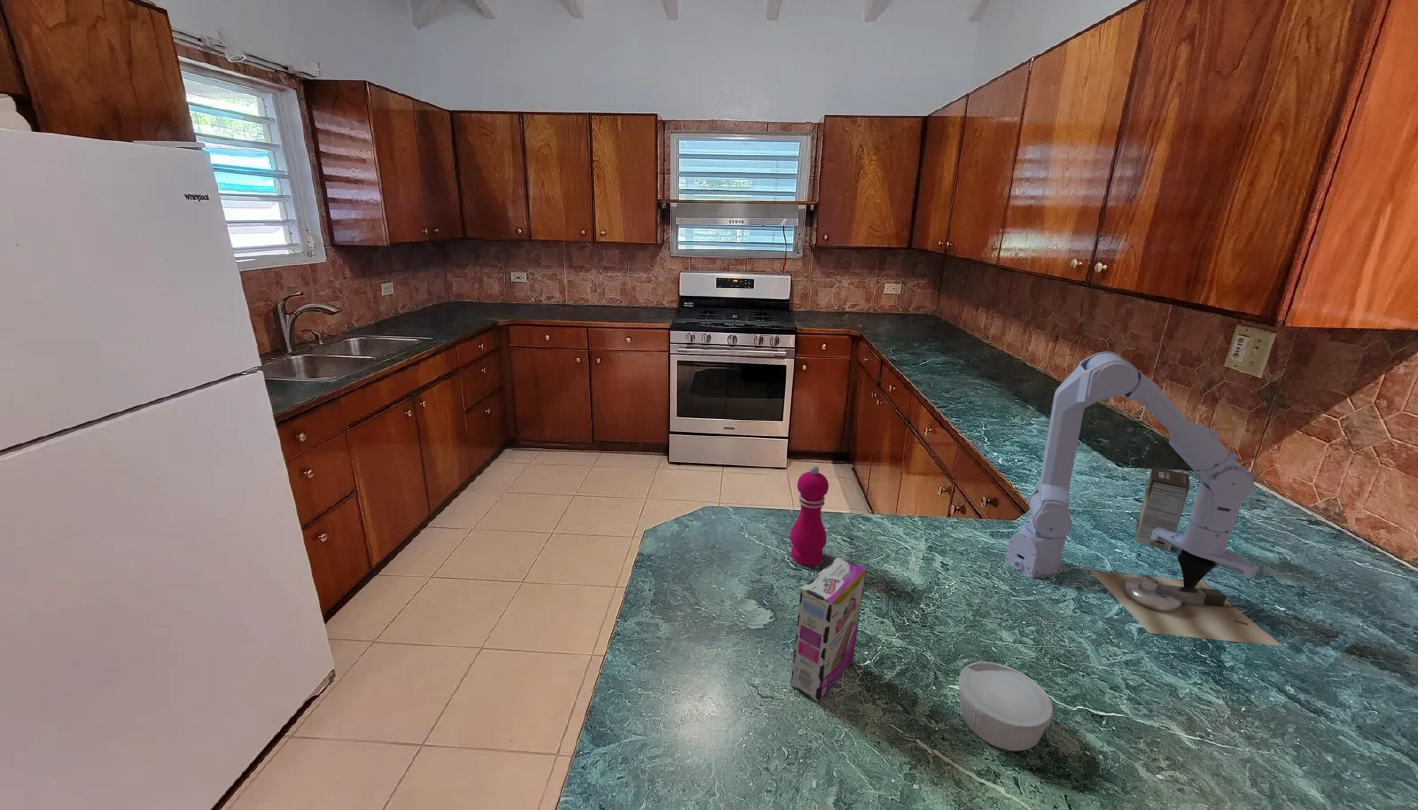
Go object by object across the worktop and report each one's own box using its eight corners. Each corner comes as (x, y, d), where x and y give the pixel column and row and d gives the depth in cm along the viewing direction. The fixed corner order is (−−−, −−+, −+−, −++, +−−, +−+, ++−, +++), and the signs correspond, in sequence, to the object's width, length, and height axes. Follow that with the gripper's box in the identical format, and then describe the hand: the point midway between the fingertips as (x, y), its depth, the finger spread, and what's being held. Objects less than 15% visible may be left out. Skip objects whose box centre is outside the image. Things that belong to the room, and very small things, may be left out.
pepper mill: (824, 569, 108) (834, 475, 103) (787, 564, 110) (794, 470, 104) (824, 550, 115) (833, 460, 109) (789, 545, 116) (796, 457, 111)
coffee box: (1133, 530, 127) (1151, 465, 123) (1169, 539, 124) (1188, 473, 119) (1132, 546, 120) (1151, 478, 116) (1170, 557, 117) (1191, 487, 112)
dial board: (1147, 639, 92) (1149, 632, 91) (1089, 576, 109) (1090, 570, 108) (1280, 652, 89) (1283, 645, 89) (1199, 586, 107) (1201, 580, 106)
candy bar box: (820, 705, 76) (831, 603, 72) (789, 687, 79) (798, 588, 75) (855, 661, 85) (867, 567, 80) (826, 646, 88) (836, 554, 83)
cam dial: (1139, 609, 97) (1145, 590, 96) (1115, 582, 104) (1119, 565, 103) (1235, 620, 95) (1241, 601, 94) (1203, 592, 102) (1208, 574, 101)
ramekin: (1015, 690, 80) (1022, 660, 79) (1065, 760, 69) (1074, 726, 68) (939, 690, 80) (944, 660, 78) (977, 760, 69) (985, 726, 68)
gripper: (1274, 539, 93) (1249, 608, 97) (1172, 503, 105) (1153, 565, 109) (1256, 548, 89) (1231, 620, 93) (1153, 510, 102) (1134, 574, 105)
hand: (1188, 591), depth 101 cm, fingers closed
